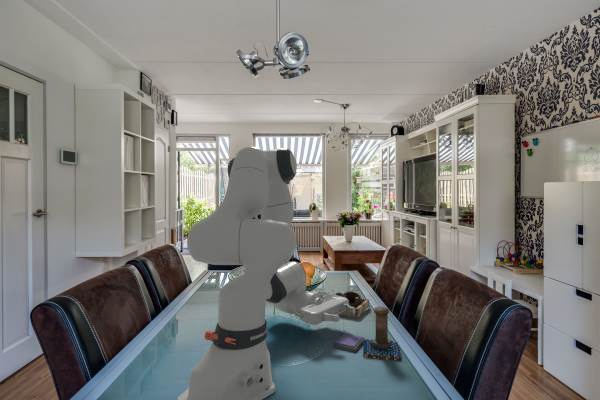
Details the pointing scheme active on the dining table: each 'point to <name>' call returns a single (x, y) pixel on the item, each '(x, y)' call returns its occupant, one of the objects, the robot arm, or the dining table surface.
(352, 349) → the pad
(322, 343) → the dining table surface
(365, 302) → the wooden tray
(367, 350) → the woven mat
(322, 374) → the dining table surface
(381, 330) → the stamp
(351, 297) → the pottery mug
